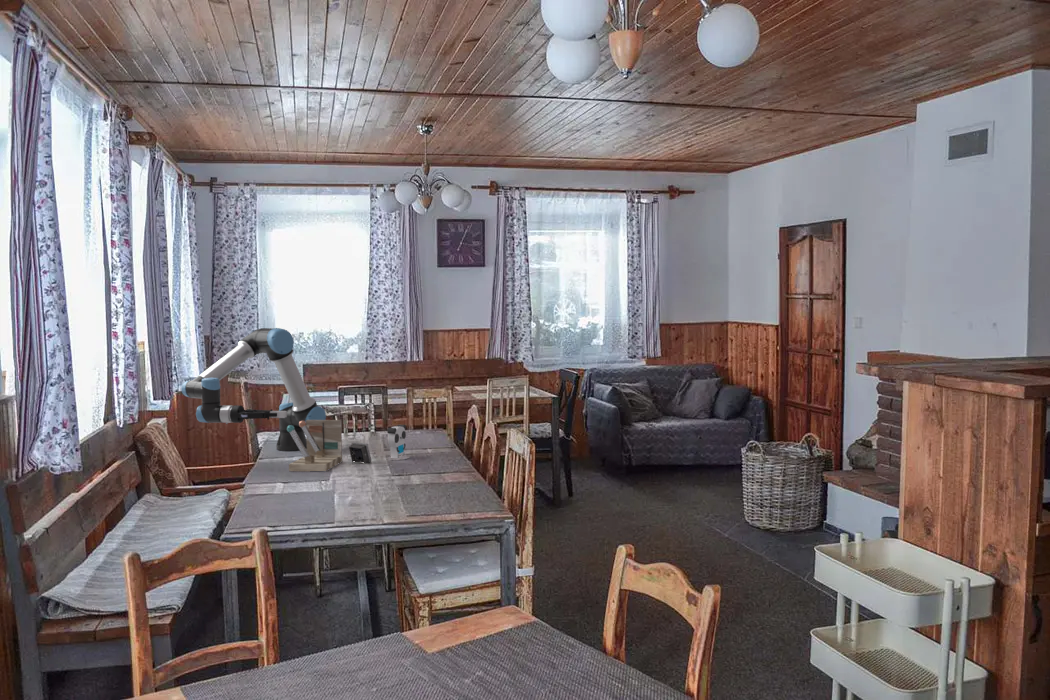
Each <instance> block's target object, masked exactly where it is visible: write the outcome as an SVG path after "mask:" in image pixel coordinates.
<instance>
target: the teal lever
mask: <svg viewBox="0 0 1050 700" xmlns="http://www.w3.org/2000/svg"><path fill="white" fill-rule="evenodd" d="M287 431H288V432H289V433H290V434H291V436H292V438H293V439H294V441H295V443H296V445H297V446H298V448H299V450H298V451H299V452H300V454H301V455H302V457H304V458H305V457H310V455H309V454H308V452H307V448H305V447H304V445H303V443H302V442H301V440H300V438H299V436H298V435H297V433H296V431H295V428H294V426H293V425H289V426H288V427H287Z"/></svg>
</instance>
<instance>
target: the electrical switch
mask: <svg viewBox="0 0 1050 700" xmlns="http://www.w3.org/2000/svg"><path fill="white" fill-rule="evenodd" d="M348 450H349V454H350V457H351V462H352V463H355V462H360V461H361V462H364V463H365V464H367V462H370V463H371V462H372V457H371V453H370V449H369V445H368V443H367V442H358V441H353V442H351V445H349V446H348ZM353 461H355V462H353Z"/></svg>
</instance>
